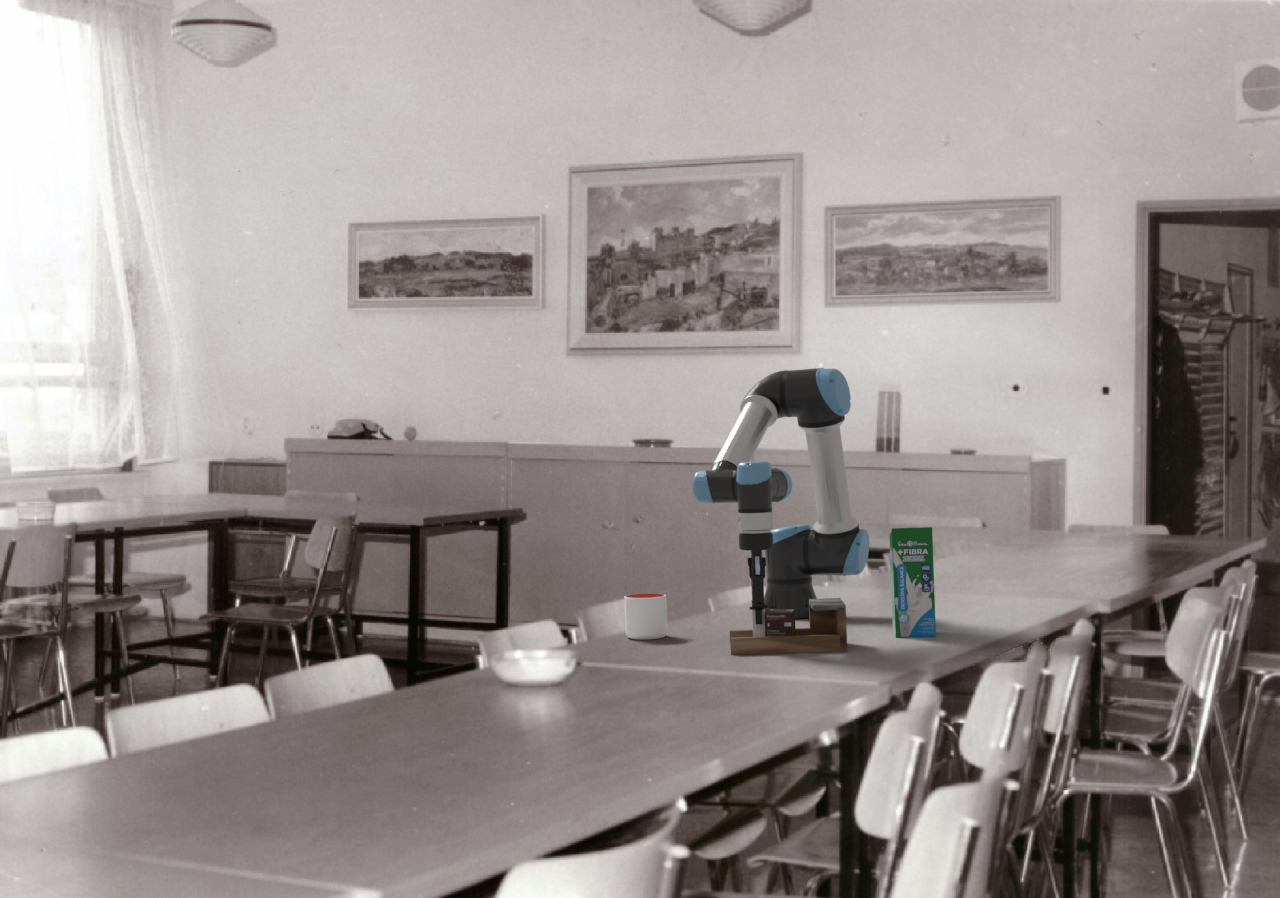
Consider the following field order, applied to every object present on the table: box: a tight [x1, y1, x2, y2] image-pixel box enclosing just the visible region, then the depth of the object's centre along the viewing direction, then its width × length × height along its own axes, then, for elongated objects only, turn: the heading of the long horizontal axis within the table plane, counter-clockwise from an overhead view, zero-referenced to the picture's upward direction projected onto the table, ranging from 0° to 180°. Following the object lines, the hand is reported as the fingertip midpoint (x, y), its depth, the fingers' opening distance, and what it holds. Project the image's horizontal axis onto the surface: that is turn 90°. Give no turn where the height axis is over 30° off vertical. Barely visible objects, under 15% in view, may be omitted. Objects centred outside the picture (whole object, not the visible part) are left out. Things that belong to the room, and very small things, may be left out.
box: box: [765, 609, 796, 637], centre depth 318 cm, size 6×6×7 cm
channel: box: [729, 597, 848, 656], centre depth 318 cm, size 13×25×10 cm, turn 87°
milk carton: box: [889, 525, 937, 638], centre depth 332 cm, size 9×9×25 cm
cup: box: [623, 592, 669, 641], centre depth 343 cm, size 10×10×10 cm
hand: (759, 638), depth 318 cm, fingers closed
